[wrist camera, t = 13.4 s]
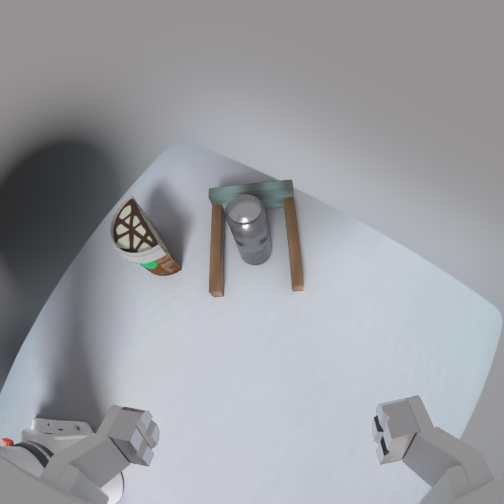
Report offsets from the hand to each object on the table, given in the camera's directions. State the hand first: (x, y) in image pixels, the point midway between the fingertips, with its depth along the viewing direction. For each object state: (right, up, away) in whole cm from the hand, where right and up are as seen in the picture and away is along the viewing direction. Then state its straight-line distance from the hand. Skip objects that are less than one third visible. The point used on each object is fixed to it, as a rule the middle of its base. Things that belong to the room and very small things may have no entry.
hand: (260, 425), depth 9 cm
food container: (-16, +5, +38) cm, 42 cm away
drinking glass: (0, +6, +36) cm, 36 cm away
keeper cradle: (0, +7, +36) cm, 37 cm away
